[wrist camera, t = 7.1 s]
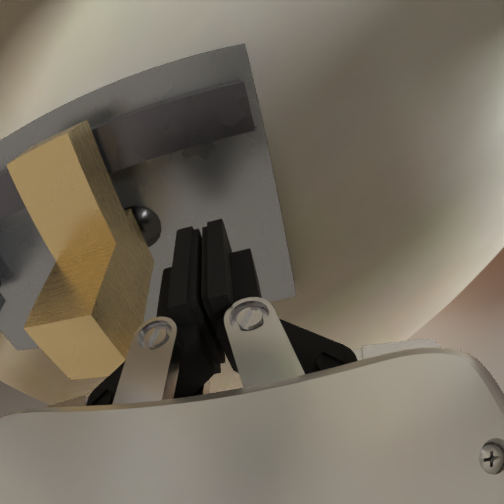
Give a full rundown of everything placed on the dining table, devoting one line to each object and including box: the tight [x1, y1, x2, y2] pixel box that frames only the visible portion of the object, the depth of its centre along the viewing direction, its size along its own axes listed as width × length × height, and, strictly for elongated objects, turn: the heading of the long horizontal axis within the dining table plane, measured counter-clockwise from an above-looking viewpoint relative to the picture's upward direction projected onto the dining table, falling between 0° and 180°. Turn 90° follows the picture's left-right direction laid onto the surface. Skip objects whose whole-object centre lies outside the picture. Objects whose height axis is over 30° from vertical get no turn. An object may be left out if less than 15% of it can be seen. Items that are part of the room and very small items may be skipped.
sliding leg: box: [6, 120, 154, 380], centre depth 11 cm, size 3×8×7 cm, turn 12°
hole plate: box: [0, 44, 296, 350], centre depth 13 cm, size 22×14×8 cm, turn 102°
